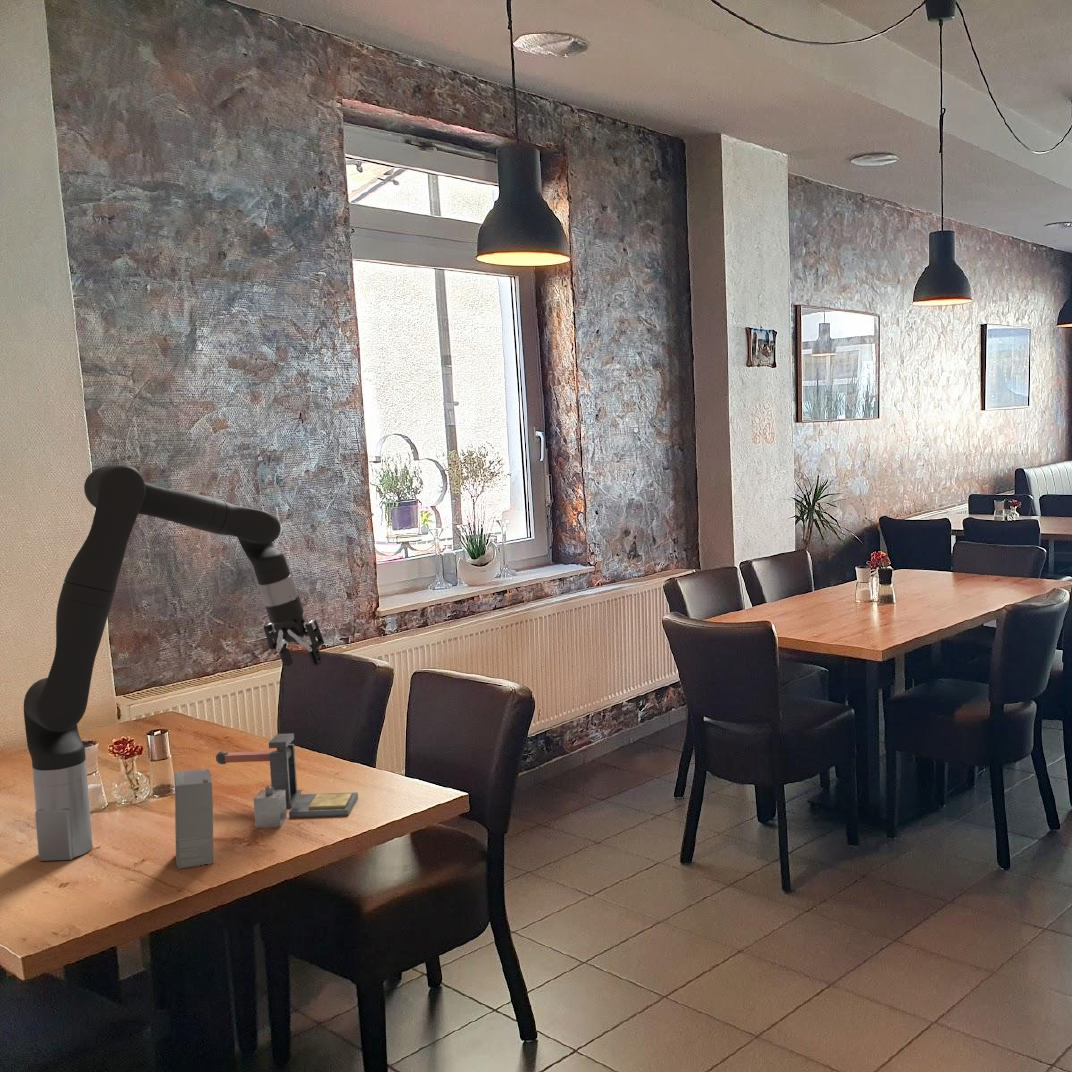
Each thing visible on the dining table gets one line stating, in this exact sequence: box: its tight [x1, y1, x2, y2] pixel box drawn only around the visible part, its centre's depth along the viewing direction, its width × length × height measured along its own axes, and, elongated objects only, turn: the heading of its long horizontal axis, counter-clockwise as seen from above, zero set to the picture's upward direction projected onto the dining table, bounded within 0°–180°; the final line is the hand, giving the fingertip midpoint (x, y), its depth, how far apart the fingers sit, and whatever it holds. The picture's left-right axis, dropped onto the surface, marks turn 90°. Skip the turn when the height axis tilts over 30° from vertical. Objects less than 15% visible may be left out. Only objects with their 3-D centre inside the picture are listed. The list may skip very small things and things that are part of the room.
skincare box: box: [173, 768, 214, 870], centre depth 191 cm, size 8×7×16 cm
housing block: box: [253, 785, 288, 829], centre depth 209 cm, size 5×5×7 cm
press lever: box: [215, 747, 292, 765], centre depth 222 cm, size 4×16×3 cm, turn 89°
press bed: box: [268, 732, 359, 819], centre depth 219 cm, size 15×18×14 cm
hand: (303, 665), depth 232 cm, fingers open, 8 cm apart
